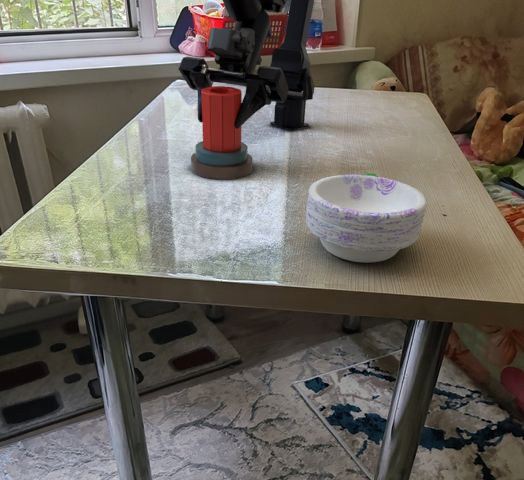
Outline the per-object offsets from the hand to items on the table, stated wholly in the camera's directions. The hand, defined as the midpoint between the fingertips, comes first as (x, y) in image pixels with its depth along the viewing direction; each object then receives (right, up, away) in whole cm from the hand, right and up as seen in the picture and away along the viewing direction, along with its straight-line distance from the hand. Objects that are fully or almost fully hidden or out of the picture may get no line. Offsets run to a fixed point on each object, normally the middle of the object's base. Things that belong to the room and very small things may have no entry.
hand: (217, 124), depth 93 cm
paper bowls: (+21, -25, -18) cm, 37 cm away
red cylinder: (+1, -2, +3) cm, 4 cm away
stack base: (0, -6, +6) cm, 8 cm away
